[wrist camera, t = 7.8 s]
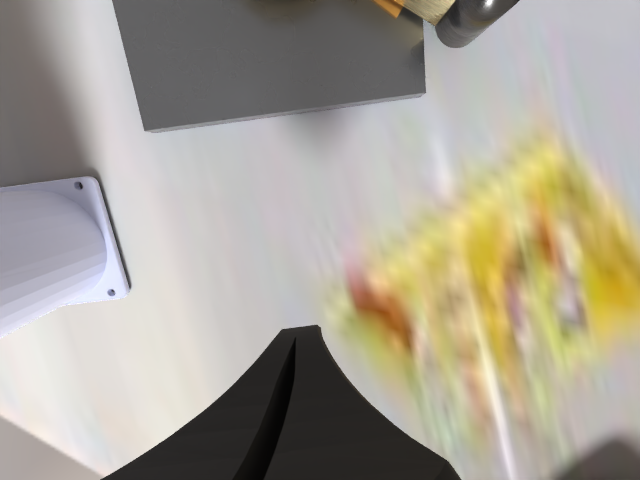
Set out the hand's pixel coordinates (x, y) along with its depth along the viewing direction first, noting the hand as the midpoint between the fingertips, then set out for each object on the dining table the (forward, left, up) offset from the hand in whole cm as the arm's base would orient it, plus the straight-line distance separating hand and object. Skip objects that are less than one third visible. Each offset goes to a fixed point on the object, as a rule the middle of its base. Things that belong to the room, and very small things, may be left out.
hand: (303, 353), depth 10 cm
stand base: (0, +17, -10) cm, 20 cm away
